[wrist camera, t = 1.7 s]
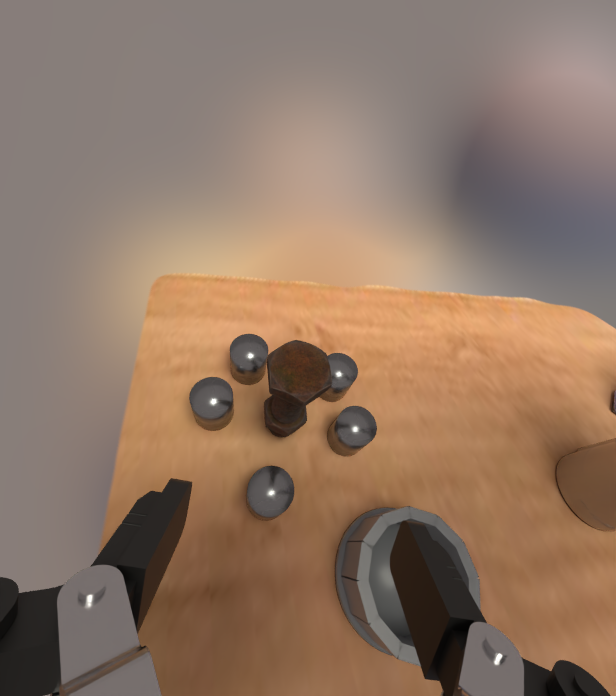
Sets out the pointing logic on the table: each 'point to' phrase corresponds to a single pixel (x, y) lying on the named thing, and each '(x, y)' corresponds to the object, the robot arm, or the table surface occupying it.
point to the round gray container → (388, 576)
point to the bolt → (294, 385)
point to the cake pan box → (615, 405)
